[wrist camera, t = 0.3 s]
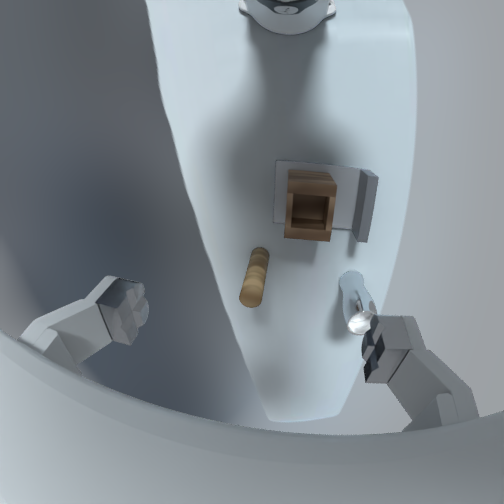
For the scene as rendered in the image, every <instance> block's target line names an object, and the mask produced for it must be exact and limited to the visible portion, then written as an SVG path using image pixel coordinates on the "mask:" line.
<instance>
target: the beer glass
mask: <svg viewBox="0 0 504 504" xmlns="http://www.w3.org/2000/svg"><path fill="white" fill-rule="evenodd" d="M339 285H340V288H341V289H342V291H343V314H344V319H345V322H346V325H347V329H348V331H349V332H350V333H352V334H354V335H365V332H366V331H368V330H369V329H370V328H371V327H370V321H371V318H372V317H373V315H374V314H377V310H376V306H375V303H374V301H373V299H372V297H371V295H370V294H369V292H368V291H367V289H366V288H365V286H364V278H363V276H362V274H361V273H360V272H358V271H348V272H346V273H344V274H343V275H342V276H341V278H340V280H339Z"/></svg>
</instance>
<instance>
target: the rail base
mask: <svg viewBox="0 0 504 504" xmlns="http://www.w3.org/2000/svg"><path fill="white" fill-rule="evenodd" d="M288 169H289V170H302V171H313V172H324V173H330V175H331V177H332V178H333V180H334V181H335V183H336V184H337V193H336V201H335V209H334V216H333V223H332V227H333V228H344V229H352V231H353V233H354V235H355V237H356V240H357V242H366V243H367V240H368V235H369V231H370V225H371V220H372V215H373V209H374V203H375V197H376V191H377V185H378V178H379V177H378V176H376V175H375V174H374V173H372V172H371V170H367V169H360V168H353V167H345V166H336V165H327V164H318V163H307V162H294V161H280V160H276V171H275V194H274V214H273V223H285V217H286V202H287V186H288Z"/></svg>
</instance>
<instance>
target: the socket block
mask: <svg viewBox="0 0 504 504" xmlns="http://www.w3.org/2000/svg"><path fill="white" fill-rule="evenodd" d="M336 193H337V184H336V183H335V181H334V180H333V178H332V177H331V175H330V173H324V172H313V171H302V170H289V169H288V186H287V202H286V217H285V232H284V238H292V239H304V240H316V241H328V242H330V237H331V230H332V223H333V216H334V209H335V201H336Z"/></svg>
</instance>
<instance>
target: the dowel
mask: <svg viewBox="0 0 504 504" xmlns="http://www.w3.org/2000/svg"><path fill="white" fill-rule="evenodd" d="M268 260H269V253H268V251H267V250H266V249H264V248H256V249H254V250H253V251H252V254H251V257H250V261H249V264H248V268H247V271H246V275H245V278H244V282H243V285H242V289H241V292H240V296H239V300H240V302H241V303H242V304H243V305H244V306H246V307H249V308H254V307H257V306H259V305H260V304H261V301H262V296H263V290H264V284H265V278H266V272H267V266H268Z"/></svg>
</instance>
